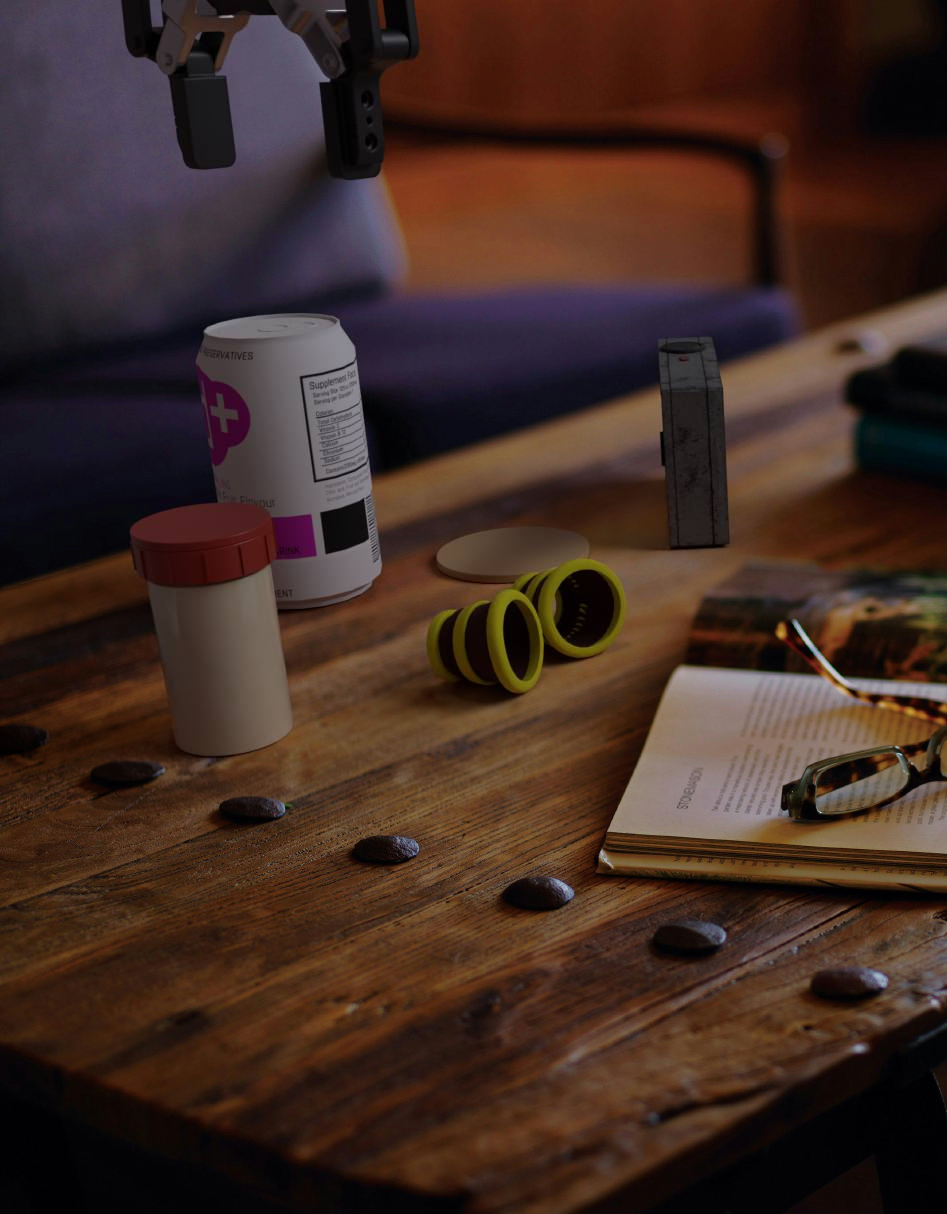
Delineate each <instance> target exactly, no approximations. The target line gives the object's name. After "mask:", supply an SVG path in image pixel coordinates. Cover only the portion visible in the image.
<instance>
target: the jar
mask: <svg viewBox="0 0 947 1214" xmlns="http://www.w3.org/2000/svg"><path fill="white" fill-rule="evenodd" d="M146 587H147V592H148V598H149V603H150V610H151V614H152V620H153V626H154V633H155V637H156V643H157V648H158V654H159V660H160V665H161V672H162V677H163V682H164V688H165V694H166V699H167V705H168V711H169V716H170V721H171V722H170V723H171V727H172V733H173V738H174V744H175V745H176V747H177V748H178V749H179V750H181V751H183V752H185V753H187V754H191V755H194V756H203V757H225V756H234V755H235V756H236V755H241V754H245V753H251V752H254V751H256V750H260V749H263V748H266V747H268V746H271V745H273V744H275V743H277V742H279V741H280V740H282V739H284V738H285V737H286V736H288V735H289V734H290V732H291V731H292V729H294V724H295V719H294V713H293V706H292V700H291V693H290V686H289V680H288V673H287V666H286V660H285V653H284V645H283V639H282V632H281V625H280V619H279V611H278V609H277V605H276V598H275V591H274V584H273V578H272V571H271V564H269V565H268V566H266V567H265V568H263V569H261V570H259V571H256V572H254V573H251V574H248V575H245V576H242V577H238V578H235V579H230V580H226V581H221V582H214V583H207V584H198V585H164V584H157V583H152V582H149V581H146Z"/></svg>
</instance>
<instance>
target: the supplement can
mask: <svg viewBox="0 0 947 1214" xmlns="http://www.w3.org/2000/svg"><path fill="white" fill-rule="evenodd" d="M195 366H196V373H197V378H198V379H197V380H198V385H199V392H200V397H201V403H202V404H201V405H202V409H203V416H204V422H205V428H206V435H207V441H208V448H209V455H210V461H211V466H212V473H213V478H214V479H213V480H214V486H215V491H216V497H217V503H245V504H252V505H257V506H260V507H263V508H265V509H267V510H268V511H269V512H270V514H271V520H272V524H274V527H275V534H276V541H277V548H278V552H276V558H275V560H274V561H273V562H272V563H271V571H272V578H273V584H274V591H275V598H276V605H277V610H300V609H301V610H304V609H311V608H317V607H324V606H329V605H333V604H337V603H341V602H344V601H347V600H350V599H352V598H354V597H356V596H359V595H361V594H363V593H364V592H366V591H367V590H368V589H369V588H370V587H372V584H373V581H374V580H375V579H376V578H378V576H380V575H381V573H382V567H383V564H382V555H381V548H380V540H379V539H380V538H379V532H378V522H377V515H376V508H375V507H376V505H375V500H374V490H373V482H372V473H371V466H370V458H369V450H368V441H367V435H366V427H365V419H364V411H363V401H362V395H361V394H362V393H361V386H360V379H359V371H358V370H359V369H358V362H357V355H356V346H355V344H354V343H353V342H352V341H351V339H350V338H349V336H348V335H347V333H346V332H345V330H344V329H343V327H342V326H341V322H340V318H339V319H338V318H337V317H336V316H333V315H327V314H322V313H321V314H320V313H303V312H302V313H299V312H298V313H275V314H274V313H273V314H264V315H262V314H261V315H255V316H254V315H253V316H246V317H240V318H239V317H238V318H233V319H229V320H225V321H220V322H217V323H215V324H212V325H209V326H207V327H206V328H205V329H204V330H203V340H202V343H201V345H200V348H199V350H198V353H197V356H196V359H195Z"/></svg>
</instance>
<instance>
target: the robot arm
mask: <svg viewBox="0 0 947 1214" xmlns="http://www.w3.org/2000/svg"><path fill="white" fill-rule="evenodd" d="M150 1H151V0H120V3H121V13H122V23H123V33H124V41H125V46H126V49H127V52H128V53H129V54H130V56H132V57H133V58H135V59H139V58H142V59H143V58H146V59H148V60H149V61H151V62H153V63H155V64H156V65H157V67H158V69H159V71H161V72H162V73H163V75H166V77H167V79H168V82H169V89H170V96H171V102H172V111H173V116H174V126H175V133H176V140H177V141H176V142H177V143H178V146H179V149H180V153H181V154H182V160H183V163H184V165H185V166H186V167H187V168H188V169H191V170H200V171H202V170H203V171H205V170H206V171H207V170H216V169H227V168H231V167H232V166H234V164H235V163H236V160H237V153H236V152H237V151H236V144H235V143H236V142H235V135H234V129H233V127H234V126H233V121H232V120H233V118H232V112H231V104H230V95H229V87H228V79H227V75H219V74H217V73H219V72H220V71H222V69H223V66H224V64H225V60H226V58H227V55H228V53H229V50H230V47H231V45H232V42H233V39H234V37H235V35H236V34H237V33H239V32H241V31H243V30H244V29H245V28H246V27H247V26H248V24H249V21H250V19H251V16H277V17H278V19H279V21H280V22H281V24H282V26H283V27H285V29H286V30H288V32H290V33H293V34H295V35H297V36H298V37H299V38H300V39H301V40H302V41H303V43H304V44H305V46H306V48H307V49H308V51H309V53H310V54H311V56H312V58H313V59H314V61H315V63H316V64H317V67H319V70H320V71H321V73H322V74H323V75H324V76H325V77H326V78H327V79H329V81H319V82H318V87H319V96H320V106H321V114H322V124H323V133H324V134H323V135H324V144H325V153H326V163H327V170H328V173H329V175H330V177H331V178H332V179H333V180H339V181H359V180H366V179H374V178H376V177H378V176H379V175H380V173H381V170H382V163H384V158H385V153H386V144H385V143H386V142H385V141H386V140H385V135H384V131H385V130H384V124H383V111H382V109H383V108H382V100H381V90H380V89H381V87H380V86H381V85H380V82H381V78H382V76H383V75H384V74H385V73H386V71H387V70H388V69H389V68H391V67H394V66H395V65H397V64H399V63H401V62H407V61H410V62H411V61H414V60H415V59H416V58H417V57H418V55H419V53H420V50H421V49H420V48H421V44H420V35H419V28H418V20H417V13H416V5H415V0H382V6H383V14H384V21H385V22H384V23H385V27H381V21H380V14H379V6H378V0H160V5H161V6H160V7H161V9H160V10H161V18H162V19H161V20H162V26H153V21H152V12H151V2H150ZM199 34H200V36H199V39H197V38H196V37H197V35H199ZM216 74H217V75H216Z"/></svg>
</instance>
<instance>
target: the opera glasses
mask: <svg viewBox="0 0 947 1214" xmlns="http://www.w3.org/2000/svg"><path fill="white" fill-rule="evenodd" d="M554 600H555V611H554V614H553V603H554ZM626 613H627V597H626V593H625V588H624V587H623V585H622V582H621V580H620V579H619V577H618V576H617V575H616V573H615V572H614V571H613V570H612V569H610V568H609V567H608V566H607V565H606V564H604V563H602V562H600V561H597V560H595V559H591V558H587V559H582V558H581V559H574V560H571V561H568V562H565V563H563V564H562V565H560V566H559V567H557V568H552V569H549V570H547V571H544V572H542V573H539V572H533V573H528V574H525V575H523V576H521V577H520V578H519V579H517V580H516V581H515V582H513V584H512V585H511V587H510V589H509V588H508V589H502V590H501V591H500V592H497V594H495V596H494V598H492V600H491V601H490V600H480V601H477V602H473V603H471V604H468V605H467V606H465V607H462V608H459V609H444V610H442V611H440V612H438V613H437V614H436V615H435V616H434V617H433V618H432V620H431V622H430V624H429V626H428V630H427V634H426V653H427V654H426V655H427V658H428V661H429V664H430V666H431V668H432V670H433V671H434V673H435V674H436V675H437V676H438V677H439V678H441V679H443V680H444V681H446V682H459V681H461V680H463V681H467V682H471V683H475V684H477V685H484V686H493V685H496V684H501V685H502V686H503V688H505V689H506V690H507V691H509V692H511V693H514V694H523V693H527V692H528V691H531V689H532V688H533V687H534V686H535V685H536V683H537V682H538V679H539V677H540V674H541V671H542V667H543V660H544V647H545V645H548V646H550V647H553V649H555V650H556V651H557V652H559V653H561V654H563V655H564V656H567V657H571V658H577V659H580V658H589V657H593V656H596V655H598V654H600V653H603V651H605V650H607V648H609V646H611V644H612V643H614V641H615V640H616V639H617V637H618V636H619V634H620V633H621V631H622V628H623V625H624V623H625V619H626ZM544 644H545V645H544Z"/></svg>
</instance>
